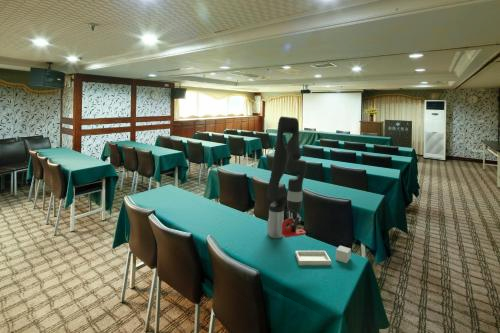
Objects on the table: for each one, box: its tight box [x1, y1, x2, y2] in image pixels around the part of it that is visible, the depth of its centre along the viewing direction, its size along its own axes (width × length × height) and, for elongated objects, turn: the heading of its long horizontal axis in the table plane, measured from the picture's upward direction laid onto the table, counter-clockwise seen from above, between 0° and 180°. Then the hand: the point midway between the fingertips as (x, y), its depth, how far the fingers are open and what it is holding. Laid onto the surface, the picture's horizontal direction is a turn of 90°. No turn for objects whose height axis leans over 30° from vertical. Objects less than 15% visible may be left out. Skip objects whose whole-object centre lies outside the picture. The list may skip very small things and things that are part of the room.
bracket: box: [282, 218, 306, 239], centre depth 143 cm, size 12×4×8 cm, turn 110°
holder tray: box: [294, 250, 332, 266], centre depth 149 cm, size 11×17×2 cm, turn 92°
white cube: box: [335, 245, 352, 264], centre depth 150 cm, size 6×6×6 cm
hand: (292, 230), depth 145 cm, fingers closed on bracket, 1 cm apart
